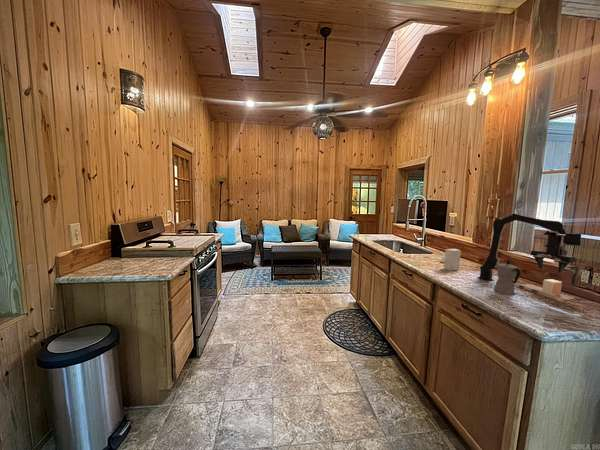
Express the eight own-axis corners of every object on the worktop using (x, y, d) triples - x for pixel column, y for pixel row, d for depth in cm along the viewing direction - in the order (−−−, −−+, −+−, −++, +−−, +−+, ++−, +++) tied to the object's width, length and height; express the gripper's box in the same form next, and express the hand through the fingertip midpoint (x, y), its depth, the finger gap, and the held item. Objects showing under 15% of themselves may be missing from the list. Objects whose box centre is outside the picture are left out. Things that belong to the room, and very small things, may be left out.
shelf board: (555, 302, 137) (555, 296, 137) (512, 287, 158) (512, 282, 158) (574, 300, 141) (575, 294, 140) (530, 285, 162) (531, 281, 161)
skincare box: (452, 268, 197) (455, 248, 195) (459, 270, 191) (461, 250, 189) (443, 268, 195) (445, 248, 193) (449, 270, 189) (451, 250, 188)
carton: (560, 294, 146) (562, 281, 145) (551, 294, 144) (553, 282, 143) (550, 291, 150) (552, 279, 149) (541, 291, 148) (543, 279, 148)
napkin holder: (463, 265, 208) (463, 258, 207) (451, 266, 204) (452, 259, 203) (447, 260, 222) (447, 254, 221) (436, 261, 218) (437, 254, 218)
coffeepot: (487, 287, 156) (491, 257, 154) (503, 288, 156) (507, 258, 154) (507, 297, 141) (512, 264, 139) (525, 298, 141) (530, 265, 139)
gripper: (585, 246, 141) (581, 275, 143) (545, 240, 159) (541, 266, 161) (570, 247, 138) (566, 276, 140) (531, 240, 156) (528, 266, 158)
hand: (550, 270), depth 150 cm, fingers open, 9 cm apart
